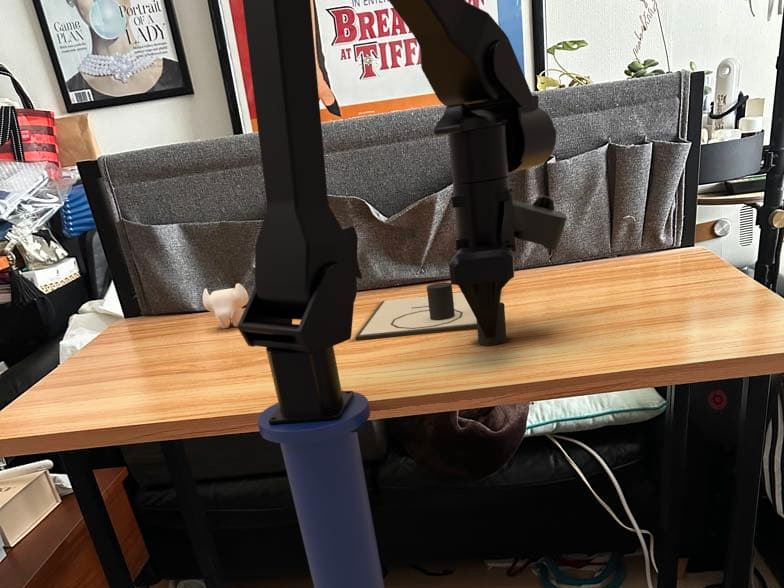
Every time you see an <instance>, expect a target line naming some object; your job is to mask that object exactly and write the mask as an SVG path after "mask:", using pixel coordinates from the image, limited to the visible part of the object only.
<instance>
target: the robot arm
mask: <svg viewBox="0 0 784 588" xmlns="http://www.w3.org/2000/svg"><path fill="white" fill-rule="evenodd" d="M388 2H389V4H390V5H391V6H392V7H393V9H394V10H395V12H396V13H397V14H398V16H399V17H400V19H401V20H402V21H403V23H404V24H405V25H406V27H407V28H408V30H409V31H410V33H411V34H412V35H413V36H414V38H415V41H416V42H417V44H418V46H419V53H420V67H421V71H422V72H423V74H424V77H425V78H426V80H427V82H428V83H429V85H430V87H431V89H432V90H433V92H434V94H435V96H436V98H437V99H438V101H439V102H440V103H442V105H444V106H445V110H444V113H443V114H442V116H441V118H440V119H439V120H438V121H437V123H436V124H435V126H434V128H433V133H434V135H435V136H444V135H445V136H446V135H448V146H449V157H450V168H451V178H452V191H453V195H452V196H451V204H452V208H453V209H454V212H455V221H456V222H455V225H456V234H457V236H456V238H455V248H456V253H455V255H454V256H453V257H452V258H451V261H450V262H449V264H448V268H449V279H450V283H451V285H452V286H457V287H458V288H459V290H460V291H461V292H462V293H463V295H464V297H465V299H466V300H467V302H468V304H469V306H470V308H471V310H472V312H473V313H474V315H475V317H476V319H477V321H478V323H479V325H480V327H481V329H482V331H483V333H484V335H485V337H486V338H491V337H495V336H496V330H497V321H498V312H499V303H500V302H501V297H502V296H501V295H502V289H503V288H504V287H505V286H506V285H507V284H508V283H509V282H510V281H511V280H513V279H514V278H515V263H516V256H514V252H515V253H516V252H517V239H518V240H522V241H526V242H529V243H534V244H538V245H541V246H543V248H544V249H548V250H553V251H557V250H558V248H559V246H560V243H561V239H562V236H563V233H564V230H565V226H566V223H567V220H568V217H567V215H566V213H564V212H562V211H561V210H555V205H554V199H553V197H550V196H546V195H542V194H539V195H538V196H537V198H536V199H534V201H533V202H532V203H529V202H521V201H517V200H514V188H512V187H511V186H510V179H509V174H511V173H514V172H519V171H523V170H527V169H531V168H535V167H538V166H542V165H544V163H546V162H547V161H548V159H550V158H551V156H552V154H553V152H554V150H555V146H556V143H557V129H556V128H555V126H554V122H553V119H552V118H551V116H550V115H549V114H548V112H546V111H545V110H544V109H542V108H540V107H539V106H540V105H539V96H538V94H534V95H533V94H532V92H531V89H530V86H529V83H528V81H527V79H526V77H525V74H524V72H523V70H522V66H521V65H520V62H519V60H518V58H517V55H516V52H515V50H514V48H513V45H512V43H511V40H510V39H509V37H508V35H507V34H506V32H505V31H504V30H503V29H502V28H501V26H500V25H499V24H498V22H496V20H495V19H494V18H493V17H492V16H491V14H490V13H489V12H488V11H485V10H484V9H482V8H480V7H478V6H476V5H474V4H473V3H470V2H468V1H466V0H388ZM242 7H243V14H244V24H245V32H246V33H245V34H246V41H247V49H248V57H249V66H250V74H251V82H252V83H251V84H252V91H253V100H254V108H255V116H256V117H255V118H256V124H257V133H258V141H259V151H260V158H261V166H262V174H263V183H264V193H265V200H266V209H265V214H264V216H263V217H264V218H263V221H262V223H261V226H260V230H259V233H258V235H257V239H256V242H255V246H254V284H255V285H254V288H253V290H252V292H251V294H250V297H249V300H248V302H247V304H246V305H245V308H244V311H242V313H243V315H242V317H241V319H240V321H239V324H238V326H237V329H238V331H239V333H240V334H241V336H242V338H243V339H244V341H245V343H246V345H247V346H248V347H252V348H253V347H261V348H265V350H266V355H267V359H268V364H269V368H270V372H271V376H272V382H273V385H274V390H275V394H276V398H277V403H279V407H278V408H277V409H276V411H275V412H274V413H273V414H272V415H271V417H270V418H269V419H268V422H269V425H283V424H296V423H309V422H322V421H335V420H339V419H340V418H341V417H342V415H343V414H344V412H345V410H346V409H347V407H348V405H349V404H350V402H351V400H352V399H353V397H354V392H355V391H353V390H342V386H341V381H340V375H339V369H338V364H337V359H336V354H335V353H336V352H335V346H336V345H339V344H342V343H344V342H346V341H349V340H351V338H352V333H353V318H354V307H355V302H356V298H357V292H358V281H357V280H361V279H362V278H363V275H362V272H361V269H360V266H359V265H360V264H359V259H358V243H359V240H358V239H359V238H358V237H359V236H358V234H357V231H356V228H355V227H354V226H352V225H351V226H347V225H346V226H341V224H340V222H339V220H338V219H337V216H336V215H335V214H334V212H333V211H332V209H331V206H330V202H329V198H328V197H329V196H328V186H327V174H326V162H325V151H324V141H323V129H322V128H323V127H322V119H321V105H320V95H319V93H320V92H319V83H318V72H317V59H316V49H315V48H316V47H315V38H314V26H313V15H312V3H311V0H242ZM293 320H298V321H300V322H299V324H298V323H297V324H296V323H293Z"/></svg>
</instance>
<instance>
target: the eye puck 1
mask: <svg viewBox="0 0 784 588" xmlns="http://www.w3.org/2000/svg"><path fill="white" fill-rule="evenodd" d="M426 293H427V296H428V303H429V312H430V319H431V320H445V319H449V318H452V317H454V316H455V312H454V302H453V293H454V292H453V285H451V282H448V281H447V282H445V281H444V282H443V281H442V282H435V283H431V284H428V285H427V286H426Z"/></svg>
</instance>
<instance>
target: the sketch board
mask: <svg viewBox="0 0 784 588" xmlns="http://www.w3.org/2000/svg"><path fill="white" fill-rule="evenodd" d="M453 302H454V312H455V316H454V317H452V318H449V319H445V320H431V319H430V312H429V303H428V295H425V296H415V297H406V298H397V299H388V300H382V301H381V302H380V304H379V305H378V306H377V308H376V309H375V310H374V311H373V313H372V314H371V316H370V317H369V318H368V320H367V321H366V322H365V323H364V324H363V326H362V328H361V329H360V330H359V331H358V333H357V334H356V335H355V341H361V340H371V339H381V338H391V337H402V336H413V335H421V334H431V333H434V334H435V333H440V332H441V333H443V332H452V331H461V330H462V331H463V330H473V329H477V320H476V317H475V315H474V313H473V312H472V310H471V308H470V306H469V304H468V302H467V300H466V299H465V297H464V295H463V293H462V291H461V292H453Z"/></svg>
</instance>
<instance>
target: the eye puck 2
mask: <svg viewBox="0 0 784 588" xmlns="http://www.w3.org/2000/svg"><path fill="white" fill-rule="evenodd" d="M505 308H506V307H505V303H504V302H501V301H500V303H499V312H498V321H497V330H496V336H495V337H491V338H486V337H485V335H484V333H483V331H482V329H481V327H480V325H479V323H478V321H477V328H476V330H477V331H476V332H477V342H478V344H479V345H480V346H496V345H500V344H503V343H505V342H506V341H507V325H506V324H507V323H506V311H505V310H506V309H505ZM476 320H477V319H476Z"/></svg>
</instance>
